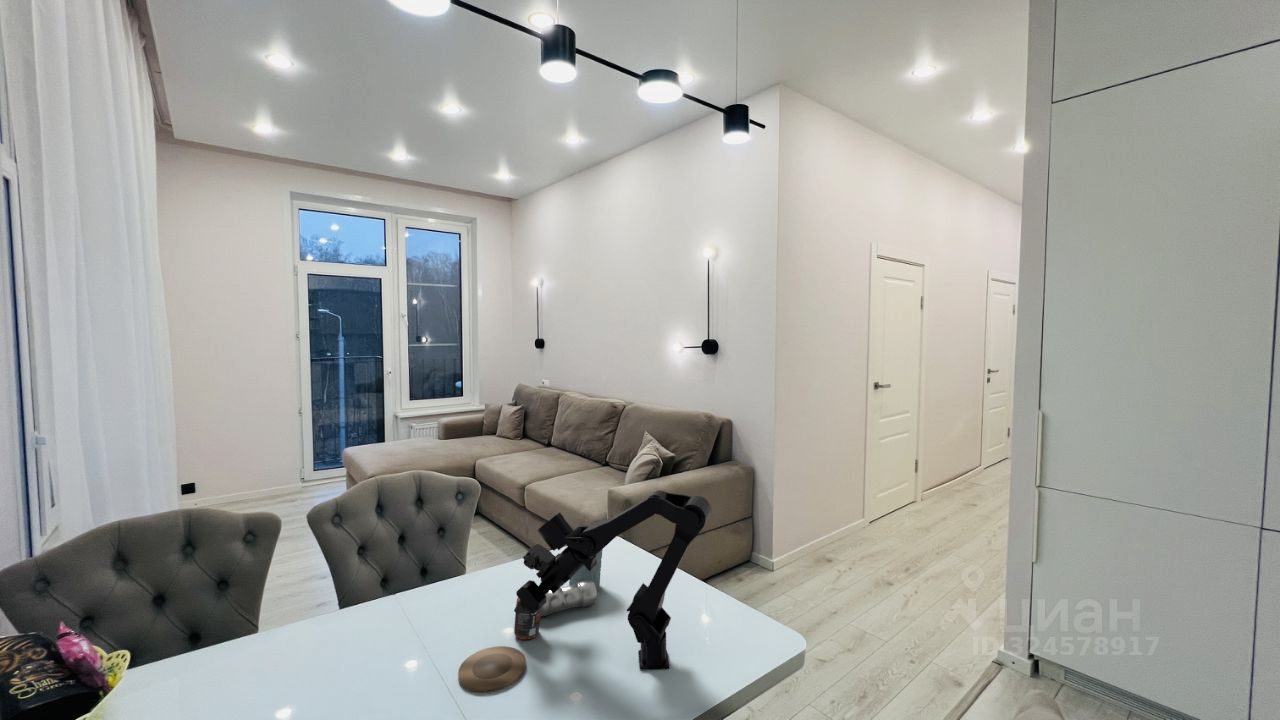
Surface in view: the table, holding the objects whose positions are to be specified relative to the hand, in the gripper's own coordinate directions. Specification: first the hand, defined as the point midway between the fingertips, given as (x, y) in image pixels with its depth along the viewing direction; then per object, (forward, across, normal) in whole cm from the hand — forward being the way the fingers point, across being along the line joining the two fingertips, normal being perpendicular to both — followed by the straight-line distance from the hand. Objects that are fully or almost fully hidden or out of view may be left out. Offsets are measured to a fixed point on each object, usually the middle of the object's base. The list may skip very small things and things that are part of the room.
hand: (526, 602), depth 124 cm
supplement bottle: (+6, 0, +6) cm, 8 cm away
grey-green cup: (+3, -25, +8) cm, 27 cm away
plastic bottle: (-4, -19, +10) cm, 22 cm away
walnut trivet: (+6, +14, +6) cm, 16 cm away
